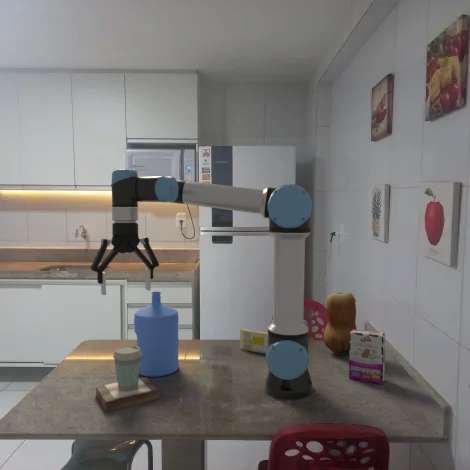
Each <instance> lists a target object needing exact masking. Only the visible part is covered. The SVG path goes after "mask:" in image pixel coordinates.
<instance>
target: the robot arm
mask: <svg viewBox="0 0 470 470" xmlns="http://www.w3.org/2000/svg"><path fill="white" fill-rule="evenodd" d="M110 186H111V187H110V188H111V211H112V212H111V220H112V221H113V222H112V224H111V227H112V228H111V229H112V232H111V233H112V237H111V239H110V238H109V239H108V238H102V239H101V241H100V242H101V243H100V247H99V249H98V251H97V252H96V253H97V254H96V255H95V258H94V260H93V262H92V264H91V266H90V270H91V271H93V272H96V273H97V274H96V275H97V277H96V278H97V283H98V285H99V284H100V294H101V295H102V296H107V282H106V281H107V278H106V277H107V275H106V274H107V273H106V272H105V270H106V268H107V267H108V266H110V265H109V264H111V262H112V261H113V260H114V258H115V257H116V256H117V255H118V254H119V253H120V254H125V253H129V254H131V253H133V254H135V256H137V257H138V258H139V259H140V261H142V263H143V264H144V265H145V267H147V268H145V269H144V275H145V277H144V278H145V279H144V283H145V285H144V286H145V287H144V288H145V290H146V291H148V292H149V291H151V286H152V285H151V280H153V279H154V269H155V268H157V267H160V263H159V261H158V259H157V257H156V255H155V253H154V250H153V249H152V247H151V245H150V239H149V237H147V236H144V237H139V224H138V222H137V221H139V208H138V207H139V203H170V204H179V205H180V204H181V205H188V206H196V207H204V208H212V209H221V210H229V211H234V212H242V213H250V214H259V215H261V216H262V217H263V218H265V219H268V222H269V223H268V225H269V226H268V233H269V235H270V236H271V237H273V244H274V245H273V297H272V298H273V299H272V300H273V305H272V308H273V309H272V311H273V313H272V316H273V317H272V320H271V322H270V324H269V325H268V326H267V333H268V344H267V353H266V354H265V362H266V366H267V368H268V371H267V374H266V375H267V376H266V378H265V381H264V389H265V390H264V391H265V392H266V393H267V394H269V395H270V396H272V397H274V398H277V399H280V400H281V399H282V400H287V401H288V400H289V401H290V400H302V399H305V398H308V397H310V396H311V395H312V394H313V381H312V378H311V375H310V371H309V368H308V366H309V364H310V357H309V333H310V331H309V329H310V328H309V326H308V325H309V324H308V321H307V320H305V319H304V309H305V308H304V307H305V259H306V258H305V255H306V254H305V251H306V250H305V248H306V238H308V237H309V235H310V234H311V229H312V227H311V226H312V225H311V223H312V210H313V201H312V198H311V195H310V194H309V192H308V191H307V189H305V188H304V187H302V186H300V185H298V184H293V183H288V184H283V185H281V186H278V187H270V186H269V187H266V188H264V189H257V188H249V187H241V186H234V185H233V186H232V185H225V184H223V185H222V184H217V183H216V184H215V183H214V184H213V183H208V182H207V183H206V182H200V181H199V182H198V181H189V180H181V179H177V178H176V177H174V176H170V175H169V176H167V175H160V176H159V175H157V176H154V175H153V176H139V174H138V171H137V170H136V169H114V170H113V171H112V173H111V184H110ZM110 244H111V245H112V246H113V247H112V249H111V250H110V252H109V253H108V254H107V256H106V257H105V258H104V260H103V261H102V259H103V257H104V255H105V253H106V251H107V249H108V247H109V246H110ZM139 244H141V245H143V248H144V249H145V250H144V251H145V252H146V254H147V255H148V257H149V259H150V260H149V259H148V258H147V257H146V256H145V255H144V253H143V252H142V251H141V249H140V248H139V247H138V246H139ZM101 261H102V262H101ZM100 263H101V264H100Z"/></svg>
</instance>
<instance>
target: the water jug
mask: <svg viewBox="0 0 470 470" xmlns="http://www.w3.org/2000/svg"><path fill="white" fill-rule="evenodd" d="M161 293H162V292H161V291H153V292H151V295H152V296H151V303H150V304H148V305H146V306H144V307H142V308H140V309H139V310H136V311H135V313H134V319H133V325H134V334H135V335H136V346H138V347H139V348H140V350H141V352H142V356H141V361H140V371H139V376H142V377H147V378H148V377H149V378H151V377H152V378H159V377H164V376H168V375H171V374H173V373H175V372H176V371H177V370H178V369H179V366H180V364H179V363H180V361H179V344H180V342H179V311H178V310H177V309H175V308H173V307H170V306H169V305H165V304H163V303H162V302H161V301H162V300H161V299H162V298H161Z"/></svg>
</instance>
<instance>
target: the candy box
mask: <svg viewBox="0 0 470 470" xmlns="http://www.w3.org/2000/svg"><path fill="white" fill-rule="evenodd" d="M239 331H240V332H239V334H240V335H239V350H243V351H249V352H255V353H258V354H259V353H260V354H264V355H266V353H267V344H268V332H264V331H257V330H251V329H245V328H240V329H239Z"/></svg>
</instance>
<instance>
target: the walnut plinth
mask: <svg viewBox="0 0 470 470" xmlns="http://www.w3.org/2000/svg"><path fill="white" fill-rule="evenodd" d="M95 395H96V398H97V399H98V401H99V402H100V404H101V406H102V407H103V409H104V411H106V412H110V411H111V412H112V411H115V410H119V409H123V408H126V407H131V406H136V405H139V404H143V403H146V402H150V401H151V402H152V401H155V400H156V401H157V400H159V399H160V389H159V388H158V387H157V386H156V385H155V384H154V383H153V382H152V381H151V380H150V379H149V378H148V376H142V377H139V381H138V388H137V389H135V390H133V391H128V392H125V391H120V390H119V388H118V381H117V382H111V383H108V384H104V385H99V386H96V387H95Z"/></svg>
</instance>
